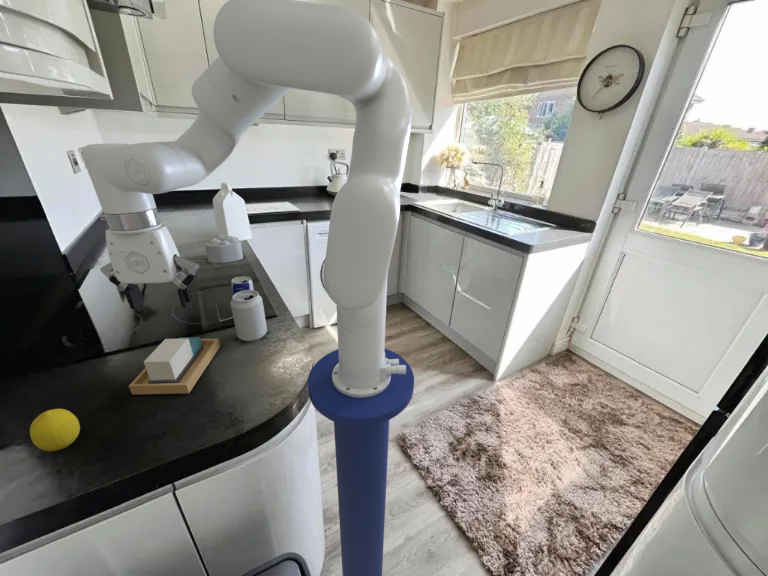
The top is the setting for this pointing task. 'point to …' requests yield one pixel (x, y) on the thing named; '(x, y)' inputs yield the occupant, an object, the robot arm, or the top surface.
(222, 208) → the milk
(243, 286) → the energy drink
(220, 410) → the top surface
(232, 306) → the can
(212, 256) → the lumpy-topped squat cylinder
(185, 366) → the sneaker
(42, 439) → the lemon
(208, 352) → the wooden tray
